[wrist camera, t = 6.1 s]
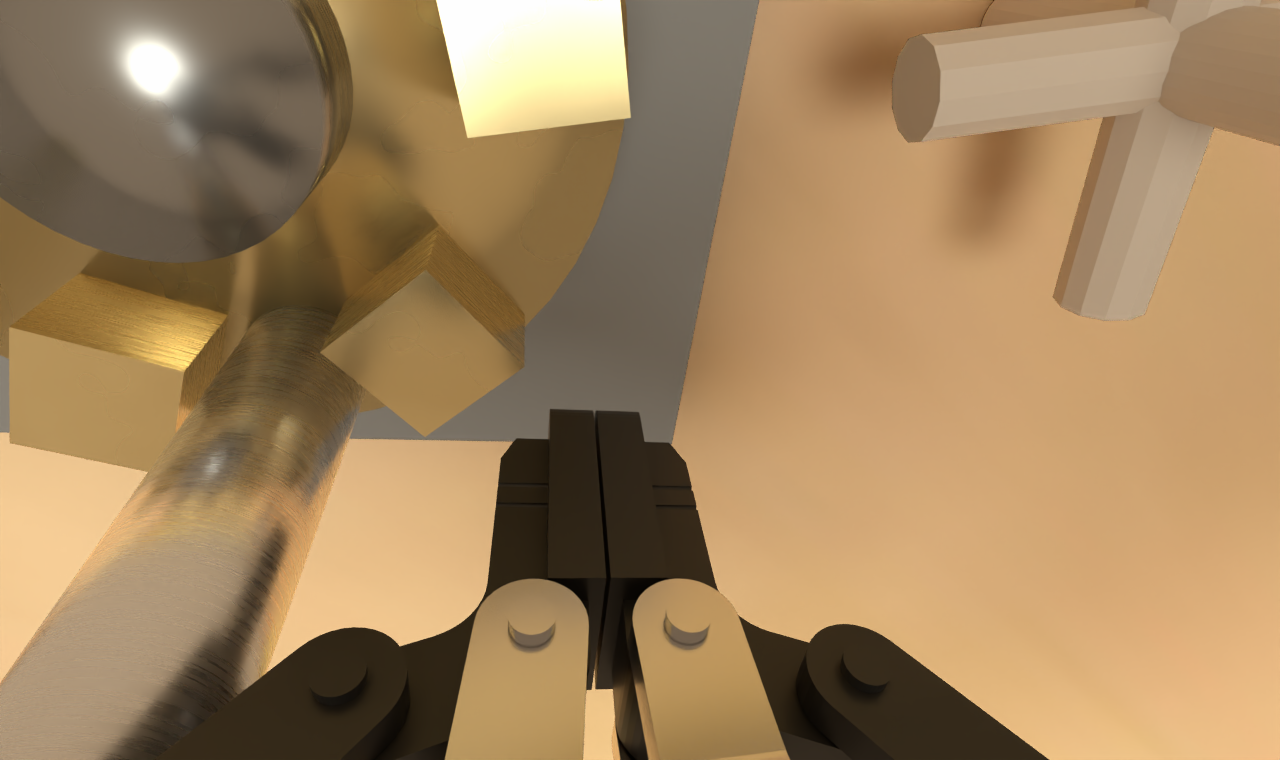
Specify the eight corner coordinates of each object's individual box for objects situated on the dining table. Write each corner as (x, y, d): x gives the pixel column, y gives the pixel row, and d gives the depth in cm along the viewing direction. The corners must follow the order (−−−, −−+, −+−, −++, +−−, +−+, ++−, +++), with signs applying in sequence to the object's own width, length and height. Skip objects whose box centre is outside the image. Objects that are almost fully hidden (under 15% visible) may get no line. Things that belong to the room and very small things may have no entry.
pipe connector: (807, 244, 19) (1019, 483, 11) (831, -225, 13) (1307, -468, 5) (1141, 196, 20) (1584, 389, 11) (1296, -272, 14) (2382, -555, 6)
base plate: (846, -580, 11) (895, -660, 10) (663, 414, 22) (673, 450, 20) (-868, -1127, 7) (-1221, -1395, 6) (-72, 395, 18) (-126, 437, 17)
